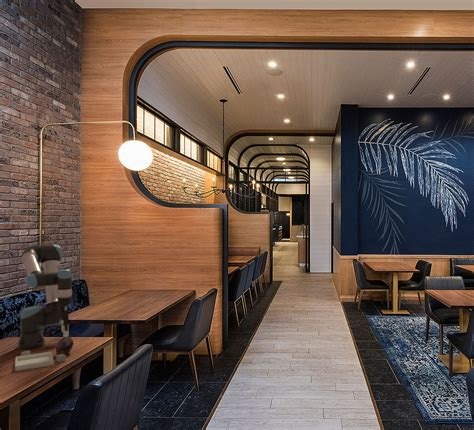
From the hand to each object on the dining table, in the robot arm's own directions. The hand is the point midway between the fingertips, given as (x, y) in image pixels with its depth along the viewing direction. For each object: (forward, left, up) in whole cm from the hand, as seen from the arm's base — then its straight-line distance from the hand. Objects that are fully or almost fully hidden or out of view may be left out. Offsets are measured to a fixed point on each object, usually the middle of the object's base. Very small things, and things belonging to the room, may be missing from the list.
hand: (65, 334), depth 237 cm
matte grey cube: (-4, -20, -11) cm, 23 cm away
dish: (+11, -16, -11) cm, 22 cm away
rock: (0, 0, -11) cm, 11 cm away
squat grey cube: (+13, -3, -11) cm, 17 cm away
